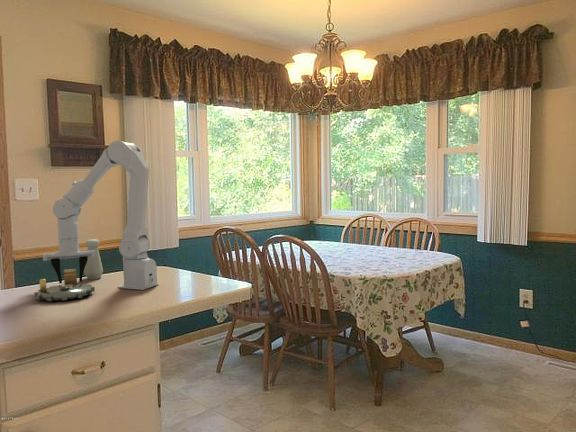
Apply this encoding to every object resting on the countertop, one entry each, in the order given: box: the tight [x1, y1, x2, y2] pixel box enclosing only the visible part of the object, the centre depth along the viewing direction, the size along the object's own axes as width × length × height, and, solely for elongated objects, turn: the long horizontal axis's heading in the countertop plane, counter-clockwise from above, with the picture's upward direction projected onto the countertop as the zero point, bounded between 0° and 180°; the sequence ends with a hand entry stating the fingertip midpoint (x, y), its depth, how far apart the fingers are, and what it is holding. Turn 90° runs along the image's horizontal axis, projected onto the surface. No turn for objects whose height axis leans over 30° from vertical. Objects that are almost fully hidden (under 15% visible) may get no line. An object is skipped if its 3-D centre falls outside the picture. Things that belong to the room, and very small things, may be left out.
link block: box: [63, 268, 78, 285], centre depth 152 cm, size 5×4×5 cm
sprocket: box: [34, 278, 96, 302], centre depth 138 cm, size 15×15×5 cm
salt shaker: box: [83, 238, 104, 280], centre depth 163 cm, size 6×6×13 cm
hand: (70, 281), depth 152 cm, fingers open, 5 cm apart
